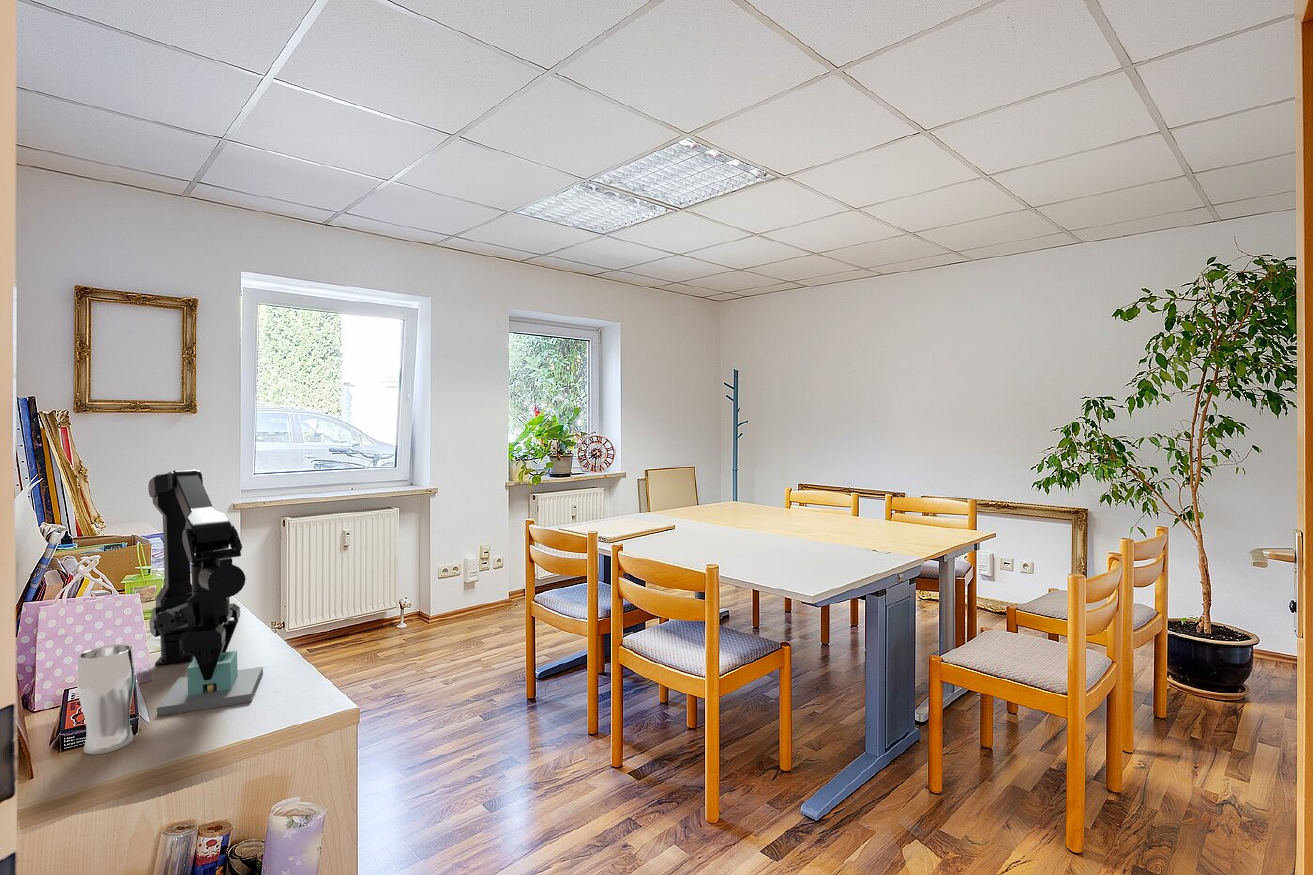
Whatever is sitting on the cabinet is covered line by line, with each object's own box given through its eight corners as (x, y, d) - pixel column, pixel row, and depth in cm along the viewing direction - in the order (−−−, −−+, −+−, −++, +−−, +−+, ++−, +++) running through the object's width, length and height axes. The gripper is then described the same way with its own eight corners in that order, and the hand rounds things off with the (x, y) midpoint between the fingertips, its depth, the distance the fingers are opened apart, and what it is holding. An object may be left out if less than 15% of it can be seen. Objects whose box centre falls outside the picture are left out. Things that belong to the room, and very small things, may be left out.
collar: (237, 676, 128) (236, 650, 127) (231, 689, 122) (230, 662, 121) (196, 681, 125) (196, 655, 125) (188, 695, 119) (187, 668, 119)
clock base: (178, 685, 127) (177, 657, 127) (262, 674, 132) (262, 646, 132) (157, 716, 114) (155, 684, 114) (251, 701, 120) (250, 671, 119)
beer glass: (90, 760, 99) (86, 662, 99) (72, 748, 103) (68, 653, 103) (144, 741, 105) (141, 648, 105) (126, 730, 109) (123, 640, 108)
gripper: (172, 580, 128) (174, 660, 128) (141, 606, 111) (144, 698, 111) (239, 574, 132) (241, 651, 133) (219, 598, 115) (222, 686, 116)
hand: (213, 670), depth 123 cm, fingers open, 9 cm apart
